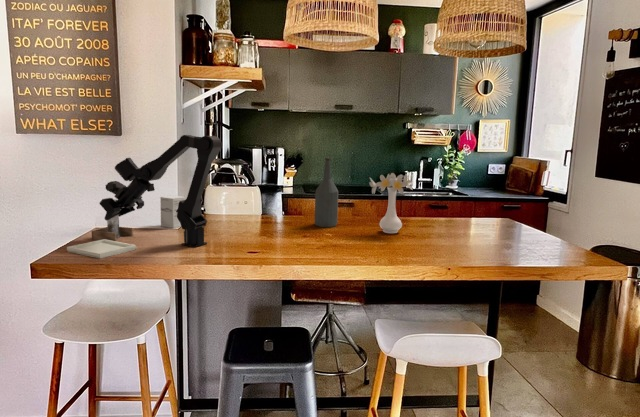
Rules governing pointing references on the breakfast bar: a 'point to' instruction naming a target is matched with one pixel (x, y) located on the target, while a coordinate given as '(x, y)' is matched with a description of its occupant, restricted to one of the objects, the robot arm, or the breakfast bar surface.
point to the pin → (114, 225)
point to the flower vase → (391, 200)
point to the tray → (101, 248)
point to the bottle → (326, 200)
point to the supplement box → (170, 211)
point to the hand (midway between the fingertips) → (109, 218)
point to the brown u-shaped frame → (110, 233)
